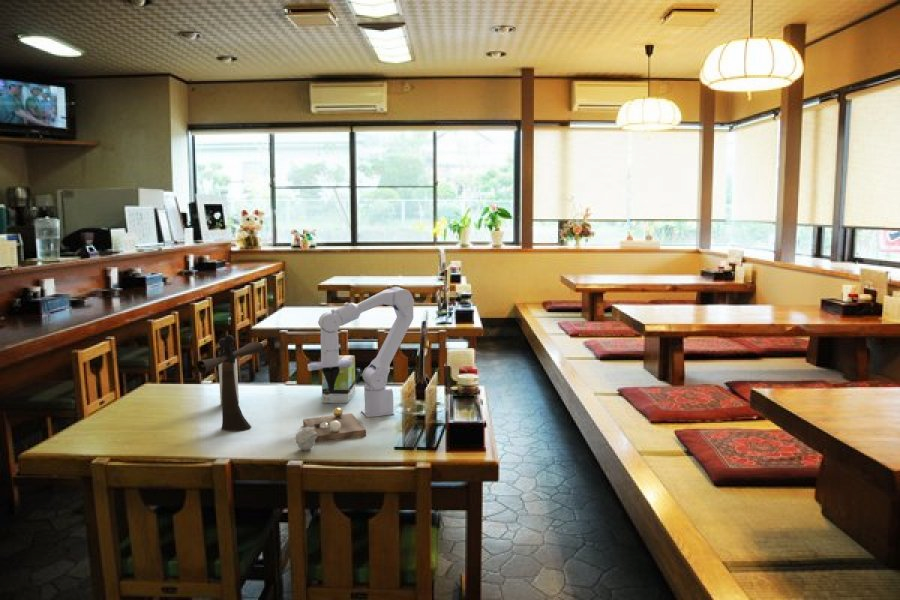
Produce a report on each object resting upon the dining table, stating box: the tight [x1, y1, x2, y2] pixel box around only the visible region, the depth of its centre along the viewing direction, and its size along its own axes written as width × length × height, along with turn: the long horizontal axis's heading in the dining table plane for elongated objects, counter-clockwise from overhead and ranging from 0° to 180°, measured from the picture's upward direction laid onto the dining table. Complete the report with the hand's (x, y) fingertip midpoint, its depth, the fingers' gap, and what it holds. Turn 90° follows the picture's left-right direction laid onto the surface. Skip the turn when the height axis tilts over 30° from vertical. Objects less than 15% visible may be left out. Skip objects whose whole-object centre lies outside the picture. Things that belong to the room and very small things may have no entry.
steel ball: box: [319, 422, 330, 429], centre depth 206 cm, size 3×3×3 cm
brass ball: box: [332, 407, 344, 417], centre depth 215 cm, size 3×3×3 cm
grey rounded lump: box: [294, 427, 318, 452], centre depth 191 cm, size 6×7×7 cm
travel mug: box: [217, 347, 240, 407], centre depth 236 cm, size 6×7×20 cm
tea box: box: [321, 354, 356, 404], centre depth 244 cm, size 15×10×15 cm
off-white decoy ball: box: [330, 420, 341, 432], centre depth 201 cm, size 3×3×3 cm
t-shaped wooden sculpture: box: [196, 334, 264, 432], centre depth 210 cm, size 32×10×30 cm, turn 165°
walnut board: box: [302, 412, 367, 444], centre depth 208 cm, size 16×18×2 cm
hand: (331, 389), depth 219 cm, fingers closed
